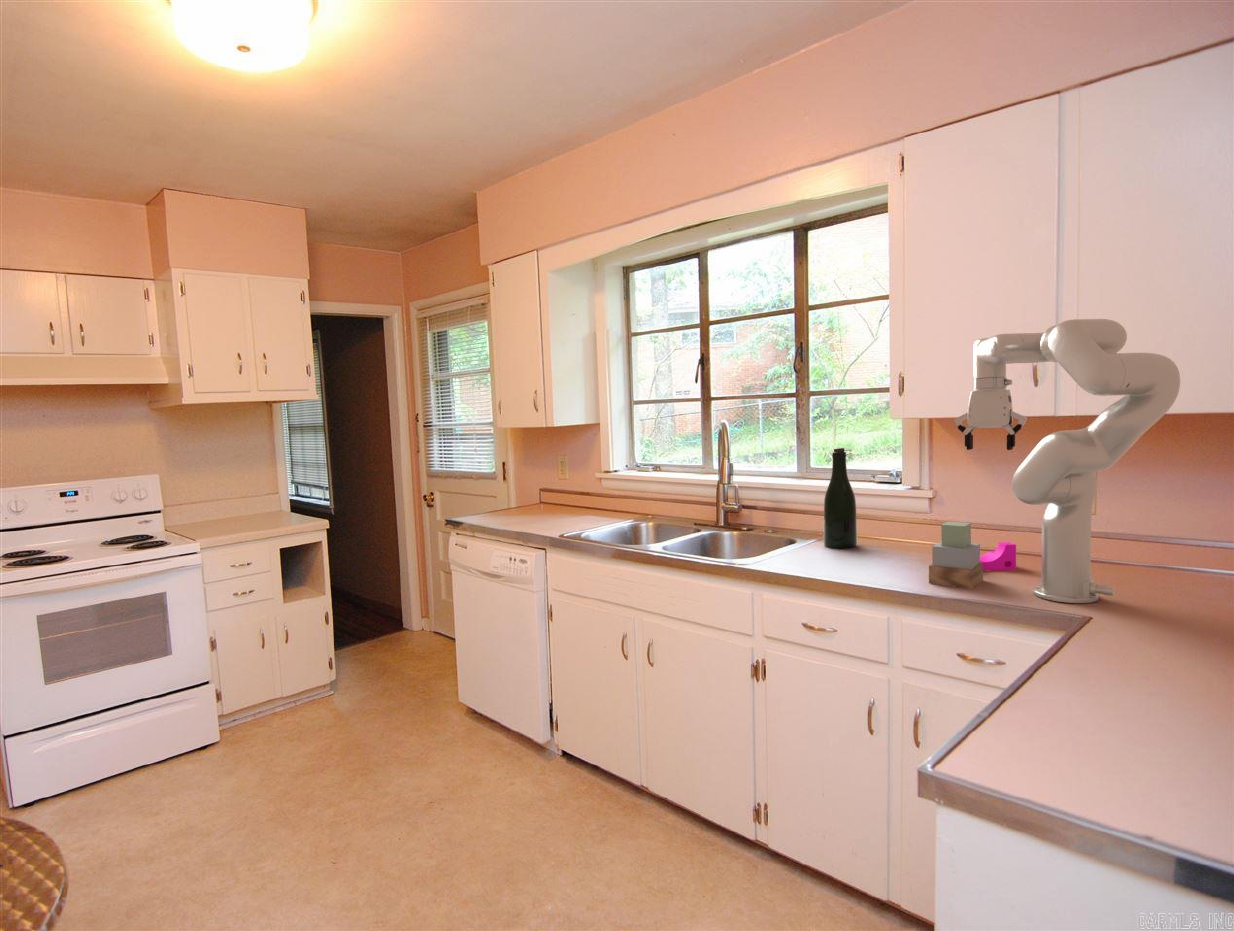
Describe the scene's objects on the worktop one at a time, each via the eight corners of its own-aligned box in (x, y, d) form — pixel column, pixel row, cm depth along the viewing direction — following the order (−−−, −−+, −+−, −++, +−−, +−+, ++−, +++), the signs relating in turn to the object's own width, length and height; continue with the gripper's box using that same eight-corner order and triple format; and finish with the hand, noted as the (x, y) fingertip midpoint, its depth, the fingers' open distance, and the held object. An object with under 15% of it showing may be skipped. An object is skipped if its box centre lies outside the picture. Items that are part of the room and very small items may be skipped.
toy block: (1004, 566, 187) (1004, 540, 186) (1015, 571, 181) (1016, 544, 180) (948, 567, 188) (948, 541, 187) (958, 573, 182) (958, 545, 181)
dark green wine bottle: (824, 544, 227) (822, 447, 224) (857, 544, 223) (855, 446, 221) (823, 550, 217) (821, 449, 214) (857, 551, 213) (856, 448, 211)
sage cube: (970, 544, 171) (970, 523, 171) (965, 547, 167) (964, 526, 167) (947, 542, 175) (947, 521, 175) (941, 545, 171) (941, 524, 170)
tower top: (979, 562, 172) (979, 543, 172) (971, 569, 165) (971, 549, 165) (942, 558, 178) (942, 540, 178) (932, 565, 171) (932, 546, 171)
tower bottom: (982, 581, 172) (982, 562, 172) (971, 590, 165) (971, 570, 165) (941, 576, 179) (941, 558, 179) (929, 584, 172) (928, 565, 171)
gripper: (1030, 383, 173) (1030, 448, 175) (959, 387, 185) (959, 448, 187) (1023, 383, 168) (1022, 450, 169) (950, 387, 180) (950, 450, 181)
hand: (989, 449), depth 178 cm, fingers open, 9 cm apart
